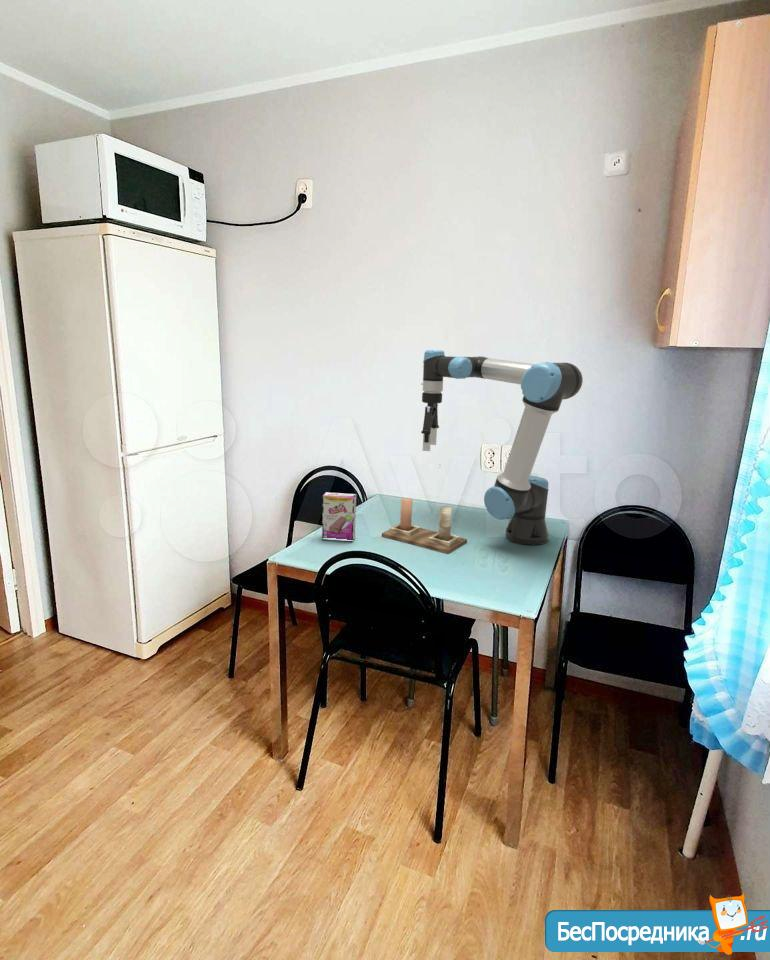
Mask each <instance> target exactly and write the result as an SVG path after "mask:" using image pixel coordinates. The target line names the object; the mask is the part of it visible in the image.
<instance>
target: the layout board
mask: <svg viewBox="0 0 770 960" xmlns="http://www.w3.org/2000/svg"><path fill="white" fill-rule="evenodd" d="M452 511H453V509H452V507H450V506H441V507H439V518H438V519H439V520H438V522H439V523H438V531H435V530H430V529H426V528H422V527H420V526H418V525H413V524H411V530H410V531H404V530H400V523H398V524H396V525H394V526H391V527H389V530H386V531H384V532H382V533H381V537H384V538H385V539H389V540H395V541H398V542H402V543H405V544H410V545H412V546H416V547H420V548H424V549H428V550H431V551H432V550H433V551H435V552H439V553H443V554H446V555H448V554H450V553H452V552H454V551H456V550H457V549H459V548H460V547H462V546H463V545H465V544H467V543H468V538H464V537H460V536H459V535H455V534H452V533H451V529H452V528H451V527H452V525H451V524H452Z"/></svg>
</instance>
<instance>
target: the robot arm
mask: <svg viewBox="0 0 770 960" xmlns="http://www.w3.org/2000/svg"><path fill="white" fill-rule="evenodd" d="M422 362H423V365H422V367H423V368H422V369H423V370H422V372H423V374H422V375H423V376H422V382H421V386H422V391H423V392H422V394H421V402H422V403H424V404H427V406H425V407H424V415H423V416H424V417H423V424H422V426H423V427H422V430H421V433H420V434H422V437H423V438H422V451H423V452H431V445H432V446H437V434H438V433H437V431H438V429H439V428H440V425H439V420H438V419H439V417H438V413H439V412H438V411H439V410H438V406H439V405H438V404H441V403H442V402H443V393H442V392H443V390H444V389H443V388H444V378H449V379H456V380H457V379H458V380H459V379H460V380H461V379H464V380H465V379H466V378H478V379H483V380H491V381H497V382H498V381H499V382H503V383H509V384H515V385H520V389H521V390H522V391H521V393H522V395H523V397H522V403H523V405H524V410H523V412H522V415H521V417H520V420H519V421H520V422H519V425H518V428H517V430H516V432H515V436H514V439H513V442H512V444H511V445H512V446H511V448H510V451H509V454H508V457H507V460H506V464H505V466H504V469H503V472H502V473H499V474H498V475H497V476H496V479H495V482H494V485H493V486H491V487H489V488H487V489H486V491H485V493H484V495H483V501H484V502H483V503H484V507H486V511H487V512H488V513H489V514H490V516H492V518H494V519H495V520H499V521H505V520H509V521H508V524H507V527H506V528H505V534H504V535H505V539H507V540H509V541H511V542H513V543H516V544H520V543H521V544H520V545H526V544H540V545H543V544H542V543H544V544H546V543H548V541H549V531H548V527H547V523H546V513H547V512H546V511H547V505H548V504H547V503H548V496H549V495H548V494H549V481H548V479H546V478H544V477H540V476H535V475H531V474H532V470H533V468H534V465H535V463H536V459H537V457H538V453H539V451H540V448H541V446H542V443H543V440H544V437H545V434H546V432H547V429H548V426H549V424H550V420H551V418H552V415H553V414H555V413H558V412H559V410H560V407H561V405H562V401H563V400H568V399H570V398H573V397H574V396H576V395H577V394H578V393H579V391H581V388H582V386H583V382H584V381H583V375H582V371H581V370H580V369H579V367H577V366H576V365H575V364H572V363H570V362H549V361H546V362H544V361H543V362H539V363H528V362H521V361H520V362H519V361H513V360H506V359H505V360H504V359H497V358H489V357H486V356H447V355H445V351H444V350H439V349H427V350H425V351H424V354H423V361H422ZM545 542H546V543H545Z"/></svg>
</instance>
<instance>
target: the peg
mask: <svg viewBox="0 0 770 960" xmlns="http://www.w3.org/2000/svg"><path fill="white" fill-rule="evenodd" d="M400 500H401V501H400V519H399V520H400V521H399V522H400V523H399V524H400V530H404V531H410V530H411V525H412V518H413V517H412V515H413V501H414V500H413V499H412V498H409V497H402V498H401V499H400Z"/></svg>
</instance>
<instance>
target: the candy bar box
mask: <svg viewBox="0 0 770 960" xmlns="http://www.w3.org/2000/svg"><path fill="white" fill-rule="evenodd" d="M356 512H357V494H356V493H341V492H330V491H329V492H327V491H326V492H324V493H323V495H322V519H321V520H322V522H321V524H322V525H321V526H322V527H321V530H322V531H321V539H322V538H336V539H347V540H353V539H354V537H355V538H356V521H357V520H356V518H357V516H356ZM354 540H355V539H354ZM354 540H353V541H354Z"/></svg>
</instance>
